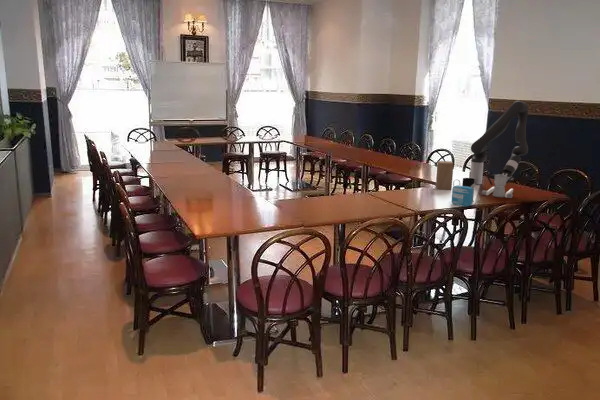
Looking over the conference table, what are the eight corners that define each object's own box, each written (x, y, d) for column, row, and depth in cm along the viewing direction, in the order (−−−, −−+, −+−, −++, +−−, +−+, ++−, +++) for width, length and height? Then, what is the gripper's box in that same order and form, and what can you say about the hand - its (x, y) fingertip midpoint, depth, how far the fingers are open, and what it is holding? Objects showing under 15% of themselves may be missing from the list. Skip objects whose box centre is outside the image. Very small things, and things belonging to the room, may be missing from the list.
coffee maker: (508, 195, 346) (511, 170, 342) (508, 198, 338) (510, 172, 334) (486, 193, 352) (488, 168, 348) (485, 195, 345) (487, 170, 341)
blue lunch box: (472, 202, 323) (474, 180, 320) (450, 200, 330) (452, 178, 327) (475, 200, 330) (477, 178, 327) (453, 197, 337) (455, 176, 334)
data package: (451, 204, 320) (452, 185, 317) (454, 202, 323) (455, 184, 320) (468, 207, 312) (470, 188, 309) (471, 205, 315) (473, 187, 312)
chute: (481, 194, 349) (481, 191, 349) (488, 189, 367) (488, 186, 367) (511, 198, 339) (511, 194, 338) (517, 192, 357) (517, 189, 356)
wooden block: (448, 187, 374) (451, 161, 369) (451, 190, 364) (453, 163, 360) (435, 187, 375) (437, 161, 370) (437, 189, 365) (439, 162, 361)
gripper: (500, 163, 355) (488, 182, 350) (517, 165, 345) (506, 184, 340) (503, 170, 359) (492, 188, 354) (520, 172, 349) (509, 191, 344)
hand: (499, 186), depth 347 cm, fingers closed
